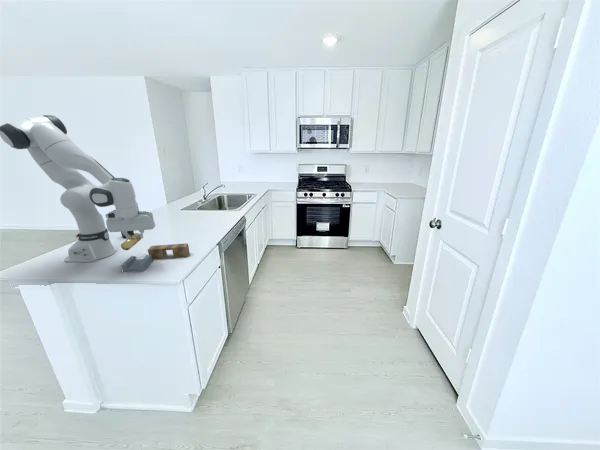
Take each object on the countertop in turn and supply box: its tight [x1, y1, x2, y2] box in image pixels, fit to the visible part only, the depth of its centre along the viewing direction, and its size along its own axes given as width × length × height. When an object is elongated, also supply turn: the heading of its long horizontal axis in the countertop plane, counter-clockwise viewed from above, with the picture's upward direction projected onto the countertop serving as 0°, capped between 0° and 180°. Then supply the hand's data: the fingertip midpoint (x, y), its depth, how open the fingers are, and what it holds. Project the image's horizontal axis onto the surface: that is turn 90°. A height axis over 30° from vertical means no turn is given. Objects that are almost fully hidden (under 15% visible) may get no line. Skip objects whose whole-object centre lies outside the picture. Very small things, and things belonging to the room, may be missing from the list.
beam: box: [147, 242, 190, 261], centre depth 134 cm, size 19×5×6 cm, turn 100°
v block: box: [121, 254, 153, 274], centre depth 123 cm, size 10×10×4 cm
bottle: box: [120, 231, 135, 239], centre depth 161 cm, size 7×7×20 cm
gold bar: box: [120, 232, 143, 251], centre depth 118 cm, size 12×4×4 cm, turn 10°
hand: (135, 238), depth 122 cm, fingers closed on gold bar, 4 cm apart
